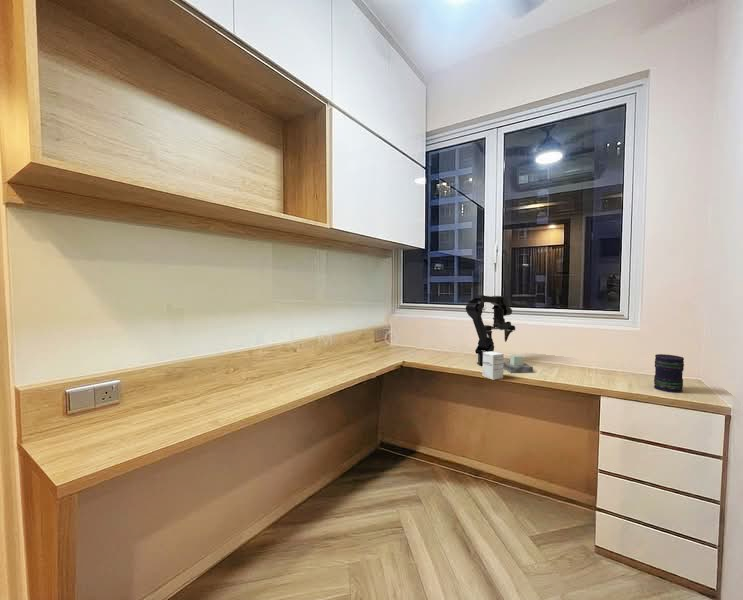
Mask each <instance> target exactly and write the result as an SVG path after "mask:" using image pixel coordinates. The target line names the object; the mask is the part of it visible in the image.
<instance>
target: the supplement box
mask: <svg viewBox="0 0 743 600" xmlns="http://www.w3.org/2000/svg"><path fill="white" fill-rule="evenodd" d="M504 356H505V355H504V353H500V352H498V351H495V350H494V351H490V352H486V351H485V352H483V366H482V377H485V378H487V379H490V380H492V381H494V380H500V379H503V378H504V369H503V362H504Z"/></svg>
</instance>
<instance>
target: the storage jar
mask: <svg viewBox="0 0 743 600" xmlns="http://www.w3.org/2000/svg"><path fill="white" fill-rule="evenodd" d="M654 357H655V358H654V368H655V370H654V371H655V374H654V377H653V382H654V383H653V384H654V386H653V389H655V390H658V391H661V392H666V393H672V394H674V393H675V394H681V393H683V387H684V379H683V372H684V370H685V369H684V368H685V364H684V363H685V361H684V359H685V357H683V356H679V355H674V354H667V353H666V354H662V353H661V354H657V353H656V354H655V355H654Z"/></svg>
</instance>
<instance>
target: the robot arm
mask: <svg viewBox="0 0 743 600" xmlns="http://www.w3.org/2000/svg"><path fill="white" fill-rule="evenodd" d="M485 303H490V304H491V305H493V306H492V308H491V309H492V310H493V317H492V320H493V324H492V325H489V324H484V321H483V317H482V315H483V309H484V308H485ZM465 311H466V314H467V315H468V316H469V317H470V318H471V320H472V322H473V324H474V327H475V331H476V334H477V336H478V342H477V346H476V348H475V350H474V351H475V354H477V362H476V364H477V365H478V366H481V367H483V352H490V351H494V352H495V350H494V349H495V345H494V344H495V342H494V340H493V338H492V336H493V335H492V333H493V331H492V330H499V331H504V342H505V343H507V340H508V339H509V336H510V334H511V333H513V332H514V331H516V325H512V323H511V321H506V319H505V318H504V317H506V316H510V315H512V314H513V309H512V307H510V304H509V303H508V300H507V298H506V296H504V295H492V296H489V295H484V294H477V295H476V296H475V297H473V298H472V299H471V300H469V302H468V303H467V304H466V306H465Z"/></svg>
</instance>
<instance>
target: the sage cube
mask: <svg viewBox="0 0 743 600" xmlns="http://www.w3.org/2000/svg"><path fill="white" fill-rule="evenodd" d="M509 362H510V364H512V365H514V366H523V363H524V356H523V355H520V354H509Z"/></svg>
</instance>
